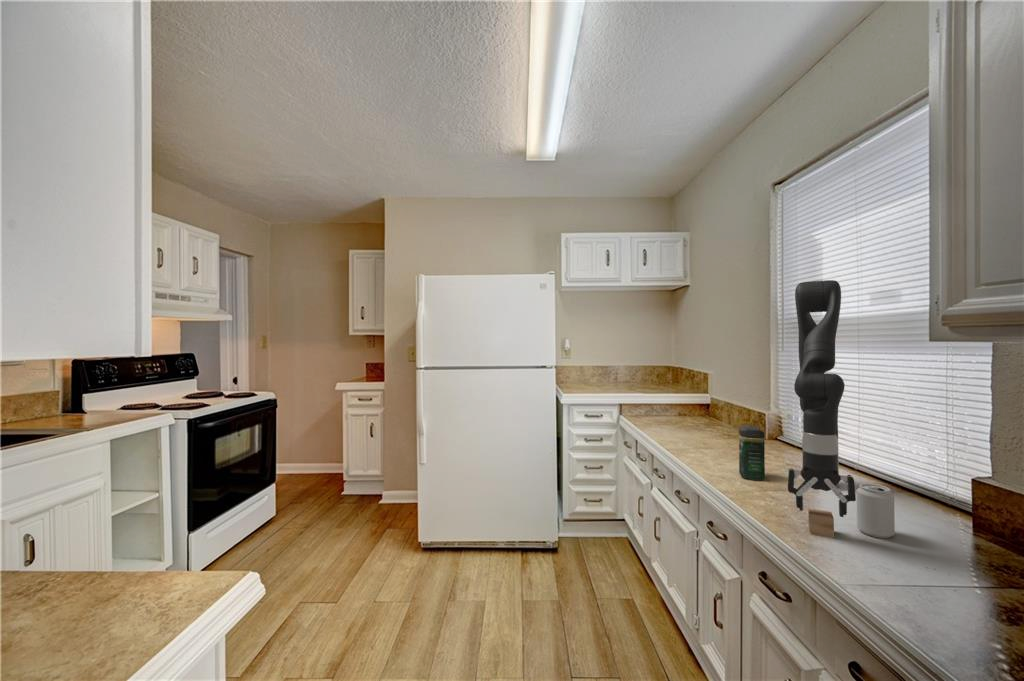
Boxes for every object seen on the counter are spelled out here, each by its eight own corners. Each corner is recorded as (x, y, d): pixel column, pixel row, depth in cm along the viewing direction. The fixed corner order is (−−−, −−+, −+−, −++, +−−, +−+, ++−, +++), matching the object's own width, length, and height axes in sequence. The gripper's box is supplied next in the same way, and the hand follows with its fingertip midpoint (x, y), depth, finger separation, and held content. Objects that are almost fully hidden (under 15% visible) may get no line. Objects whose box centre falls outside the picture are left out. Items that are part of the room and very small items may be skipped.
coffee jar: (767, 481, 153) (766, 429, 153) (742, 480, 155) (741, 428, 155) (760, 473, 162) (760, 423, 162) (737, 472, 164) (736, 423, 164)
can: (902, 540, 108) (901, 492, 108) (867, 538, 109) (866, 490, 109) (883, 528, 115) (882, 482, 115) (850, 526, 116) (850, 481, 116)
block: (808, 527, 116) (808, 508, 116) (831, 530, 114) (831, 511, 114) (810, 534, 112) (809, 514, 112) (834, 538, 110) (833, 518, 110)
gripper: (851, 450, 113) (852, 513, 112) (786, 444, 120) (787, 503, 120) (856, 456, 106) (858, 523, 106) (787, 449, 113) (788, 512, 113)
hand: (820, 512), depth 113 cm, fingers open, 8 cm apart
